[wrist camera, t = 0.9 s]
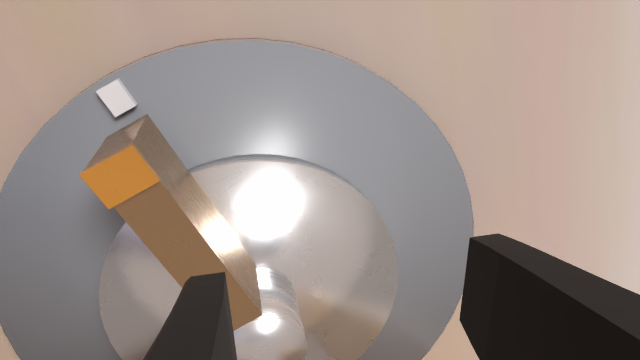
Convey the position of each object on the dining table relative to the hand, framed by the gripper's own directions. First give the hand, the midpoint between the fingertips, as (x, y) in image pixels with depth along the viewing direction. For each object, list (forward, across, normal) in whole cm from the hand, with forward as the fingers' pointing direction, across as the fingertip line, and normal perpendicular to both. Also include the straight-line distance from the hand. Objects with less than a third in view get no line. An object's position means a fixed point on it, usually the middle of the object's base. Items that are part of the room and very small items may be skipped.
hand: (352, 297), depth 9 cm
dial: (+9, +2, +5) cm, 11 cm away
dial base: (+10, +2, +6) cm, 12 cm away
